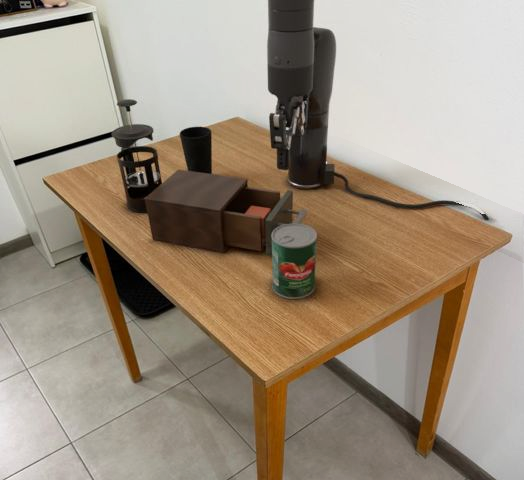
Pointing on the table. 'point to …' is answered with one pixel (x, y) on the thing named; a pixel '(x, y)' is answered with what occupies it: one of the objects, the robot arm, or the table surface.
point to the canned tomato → (293, 260)
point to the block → (260, 212)
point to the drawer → (257, 218)
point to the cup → (197, 149)
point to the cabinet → (192, 209)
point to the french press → (136, 180)
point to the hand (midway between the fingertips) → (289, 161)
